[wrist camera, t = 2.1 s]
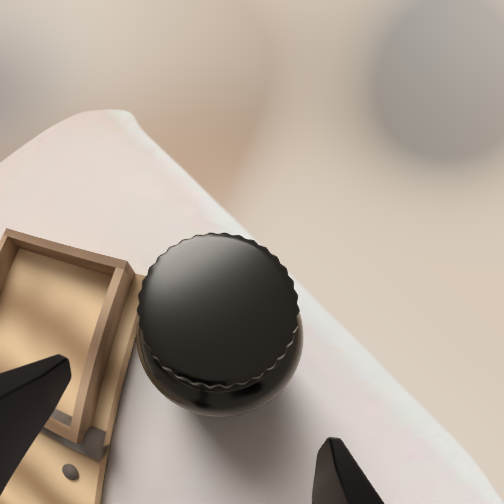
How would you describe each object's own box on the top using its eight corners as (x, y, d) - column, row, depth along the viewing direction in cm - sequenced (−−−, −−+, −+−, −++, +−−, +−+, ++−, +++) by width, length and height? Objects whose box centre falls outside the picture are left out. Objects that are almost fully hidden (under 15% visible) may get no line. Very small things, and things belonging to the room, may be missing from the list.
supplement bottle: (278, 405, 18) (348, 413, 7) (172, 411, 17) (100, 426, 7) (268, 306, 21) (312, 202, 10) (169, 310, 20) (112, 210, 10)
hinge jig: (94, 564, 10) (79, 580, 7) (-35, 480, 10) (-56, 482, 7) (152, 283, 21) (141, 264, 18) (18, 244, 21) (-1, 226, 18)
